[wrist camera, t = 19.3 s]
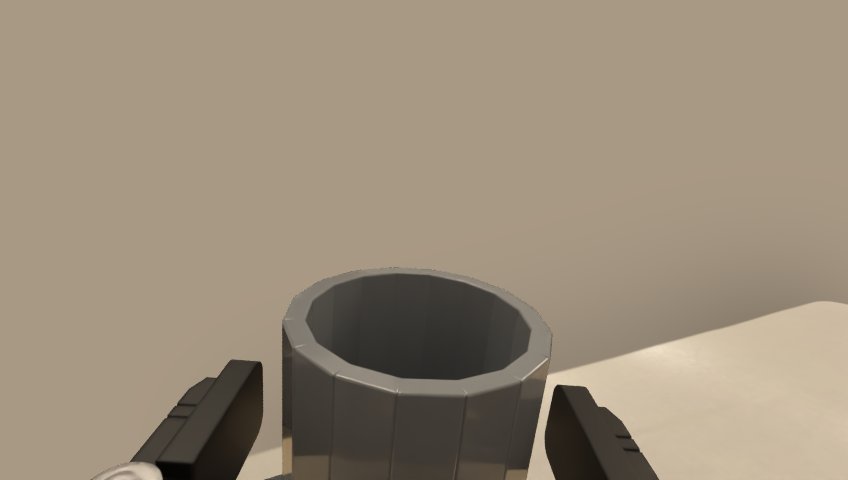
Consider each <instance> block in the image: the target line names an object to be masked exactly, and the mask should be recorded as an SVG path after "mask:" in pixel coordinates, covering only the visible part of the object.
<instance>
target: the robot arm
mask: <svg viewBox="0 0 848 480" xmlns="http://www.w3.org/2000/svg"><path fill="white" fill-rule="evenodd" d="M262 417H263V368H262V364H261V362H258V361H245V360H230V361H229V362H228V364H227V365H226V366H225V368H224V369H223V370H222V372H221V373H220V375H219V376H218V377H217V378H209V377H207V378H205V379H204V380H202V381H201V382H199V383H198V384H196V385H194V386H193V387H191V388H190V389H189V390H188V391H187V392H186V393H185V395H184V396H183V397H182V398H181V399H180V401H179V402H178V404H177V406H175V407H174V408H173V409H172V411H171V412H170V413H169V414H168V417H167V418H165V419H164V420H163V422H162V423H161V424H160V425H159V426H158V428H157V429H156V430H155V432H154V433H153V434H152V435H151V436H150V437H149V439H148V440H147V441H146V442H145V444H144V445H143V446H142V447H141V448H140V450H139V451H138V452H137V453H136V455H135V456H134V457H133V458H132V460H131V461H130V462H129V463H124V464H121V465H117V466H115V467H112V468H109V469H107V470H105V471H103V472H102V473H100V474H98V475H97V476H95V477H94V478H93V479H91V480H236V478H237V476H238V474H239V472H240V470H241V468H242V466H243V464H244V462H245V460H246V458H247V456H248V454H249V452H250V450H251V448H252V446H253V444H254V442H255V440H256V438H257V436H258V433H259V430H260V427H261V423H262ZM545 449H546V454H547V458H548V460H549V463H550V466H551V469H552V471H553V474H554V477H555V479H556V480H659V479H658V477H657V475H656V474H655V472H654V471H653V469H652V468H651V466H650V465H649V463H648V461H647V460H646V458H645V457H644V455H643V454H642V453H640V449H639V447H638V446H637V444H636V443H635V441H634V440H633V439H631V435H630V434H629V432H628V430H627V429H626V427H625V426H624V424H623V423H622V421H621V420H620V419H618V418H617V417H616V416H615V415H614V414H613V413H611V412H610V411H609V410H608V409H607V408H606V407H598V406H597V404H596V403H595V401H594V399H593V398H592V396H591V394H590V393H589V391H588V389H587V388H586V387H581V386H568V385H557V386H556V387H555V389H554V392H553V396H552V401H551V406H550V411H549V415H548V420H547V425H546V430H545Z"/></svg>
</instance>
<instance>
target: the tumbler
mask: <svg viewBox="0 0 848 480" xmlns="http://www.w3.org/2000/svg"><path fill="white" fill-rule="evenodd" d="M551 345H552V333H551V330H550V329H549V328H548V326H547V325H546V323H545V322H544V321H543V319H542V318H541V316H540V315H539V314H538V312H537V311H536V310H535V309H534V308H533V307H531V306H530V305H528V304H527V303H525V302H524V301H522V300H520V299H519V298H517V297H515V296H514V295H513V294H511V293H509V292H508V291H505V290H503V289H501V288H498V287H496V286H493V285H490V284H488V283H485V282H482V281H479V280H477V279H474V278H470V277H467V276H462V275H457V274H452V273H447V272H442V271H437V270H431V269H416V268H399V267H394V268H392V267H390V268H380V269H368V270H357V271H351V272H348V273H344V274H341V275H337V276H334V277H330V278H326V279H323V280H321V281H318V282H317V283H315V284H313V285H312V286H310V287H309V288H307V289H306V290H304V291H303V292H301V293H299V294H298V295H296V296H295V297H294V298H293V300H292V302H291V304H290V306H289V308H288V310H287V312H286V315H285V317H284V319H283V322H282V413H283V414H282V439H283V440H282V443H283V444H282V480H526V478H527V473H528V468H529V463H530V458H531V453H532V448H533V443H534V438H535V433H536V428H537V423H538V418H539V413H540V408H541V403H542V398H543V393H544V388H545V383H546V378H547V373H548V368H549V363H550V357H551Z"/></svg>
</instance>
